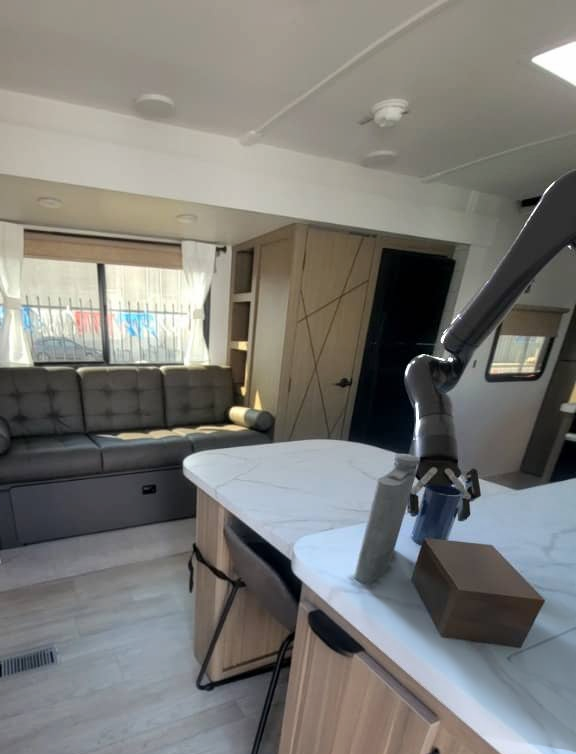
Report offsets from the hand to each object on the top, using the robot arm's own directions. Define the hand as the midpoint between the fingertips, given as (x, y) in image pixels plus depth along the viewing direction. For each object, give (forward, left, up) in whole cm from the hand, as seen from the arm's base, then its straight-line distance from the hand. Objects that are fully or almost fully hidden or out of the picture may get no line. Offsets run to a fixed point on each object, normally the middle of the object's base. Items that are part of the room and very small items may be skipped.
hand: (438, 517), depth 77 cm
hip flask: (+12, +10, -6) cm, 17 cm away
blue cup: (0, -1, -6) cm, 6 cm away
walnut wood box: (+2, +21, -6) cm, 22 cm away
